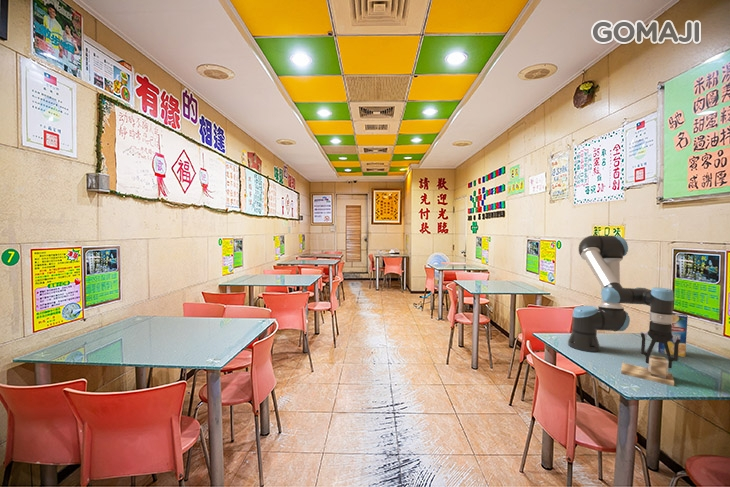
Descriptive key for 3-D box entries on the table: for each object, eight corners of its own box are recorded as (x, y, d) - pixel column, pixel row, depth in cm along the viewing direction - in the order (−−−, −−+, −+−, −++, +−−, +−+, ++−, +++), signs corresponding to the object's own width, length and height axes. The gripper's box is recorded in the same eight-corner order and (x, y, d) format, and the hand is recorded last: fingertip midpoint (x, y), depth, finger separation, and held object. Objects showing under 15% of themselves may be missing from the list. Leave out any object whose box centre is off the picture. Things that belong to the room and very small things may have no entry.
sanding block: (650, 375, 146) (651, 359, 146) (650, 369, 152) (651, 355, 152) (665, 378, 143) (666, 362, 143) (664, 372, 149) (665, 357, 149)
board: (621, 373, 152) (621, 370, 151) (622, 365, 161) (622, 362, 161) (674, 386, 140) (674, 382, 140) (671, 376, 149) (672, 373, 149)
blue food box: (685, 357, 174) (687, 316, 173) (657, 351, 181) (660, 312, 180) (684, 353, 179) (686, 314, 178) (657, 348, 186) (659, 310, 185)
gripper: (634, 319, 150) (632, 369, 151) (689, 328, 138) (686, 381, 139) (634, 316, 155) (632, 364, 156) (687, 324, 144) (684, 375, 145)
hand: (657, 372), depth 148 cm, fingers closed on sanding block, 5 cm apart
